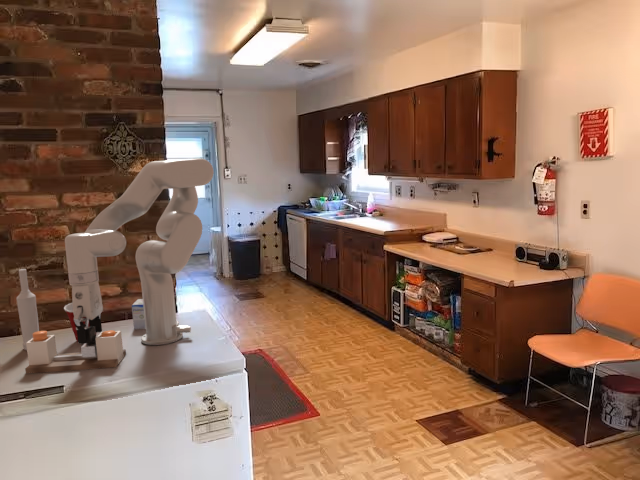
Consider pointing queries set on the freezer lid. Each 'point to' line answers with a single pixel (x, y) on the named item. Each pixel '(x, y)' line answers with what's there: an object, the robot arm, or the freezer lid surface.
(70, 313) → the plastic cup
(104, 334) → the ball
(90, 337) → the carriage
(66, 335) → the freezer lid surface
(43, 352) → the pair of ball holders
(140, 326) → the medicine box
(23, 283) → the bottle
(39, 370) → the rail board
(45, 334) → the gauge button
